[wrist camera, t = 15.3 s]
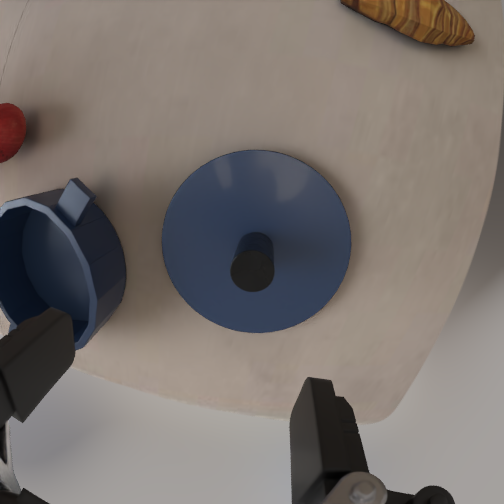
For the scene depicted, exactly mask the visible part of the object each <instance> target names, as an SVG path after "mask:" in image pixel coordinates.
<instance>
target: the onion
mask: <svg viewBox="0 0 504 504" xmlns="http://www.w3.org/2000/svg"><path fill="white" fill-rule="evenodd" d="M25 135H26V121H25V117H24V115H23V112H22V111H21V110H20V109H19V108H18V107H17V106H15V105H14V104H10V103H3V104H0V163H2V162H5V161H7V160H9V159H10V158H12V157H13V156H14V155H15V154H16V153H17V152H18V150H19V149H20V147H21V145H22V144H23V141H24V138H25Z"/></svg>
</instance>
